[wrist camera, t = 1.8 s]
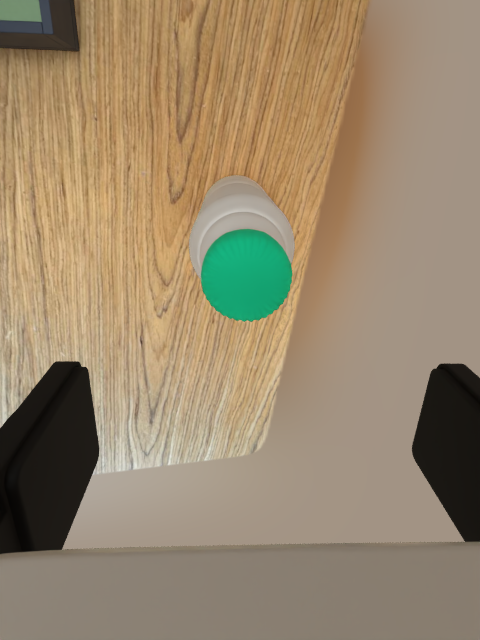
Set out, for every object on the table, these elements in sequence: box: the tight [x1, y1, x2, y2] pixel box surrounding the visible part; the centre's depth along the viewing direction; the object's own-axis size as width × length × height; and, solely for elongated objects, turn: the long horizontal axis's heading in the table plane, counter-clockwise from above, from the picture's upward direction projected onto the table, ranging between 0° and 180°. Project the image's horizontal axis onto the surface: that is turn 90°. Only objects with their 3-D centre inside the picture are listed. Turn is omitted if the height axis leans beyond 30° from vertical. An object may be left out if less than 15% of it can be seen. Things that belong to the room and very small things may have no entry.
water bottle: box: [189, 175, 295, 322], centre depth 31 cm, size 7×7×25 cm
